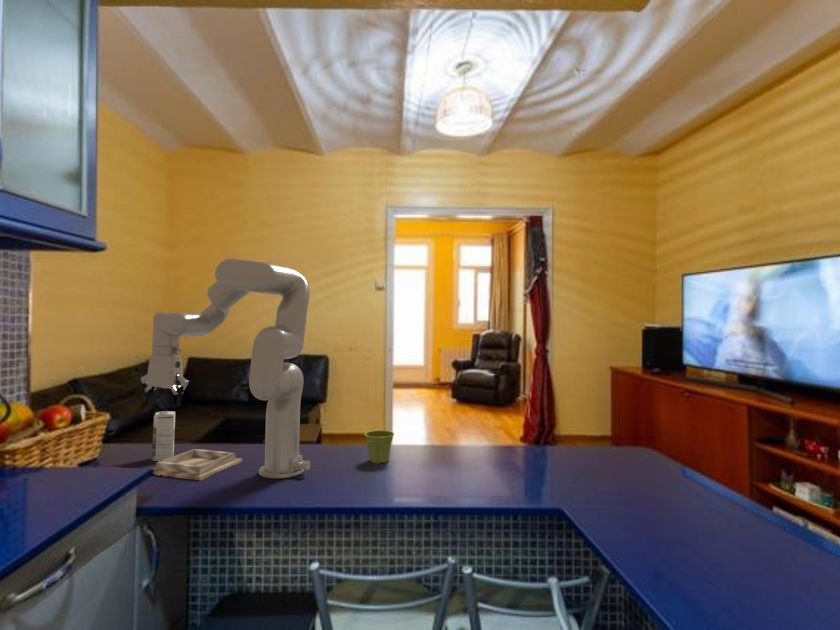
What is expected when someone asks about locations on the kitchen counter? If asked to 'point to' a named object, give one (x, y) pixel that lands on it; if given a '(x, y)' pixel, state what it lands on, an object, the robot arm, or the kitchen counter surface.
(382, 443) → the plant pot
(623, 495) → the kitchen counter surface
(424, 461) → the kitchen counter surface
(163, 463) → the tray
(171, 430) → the syrup box
